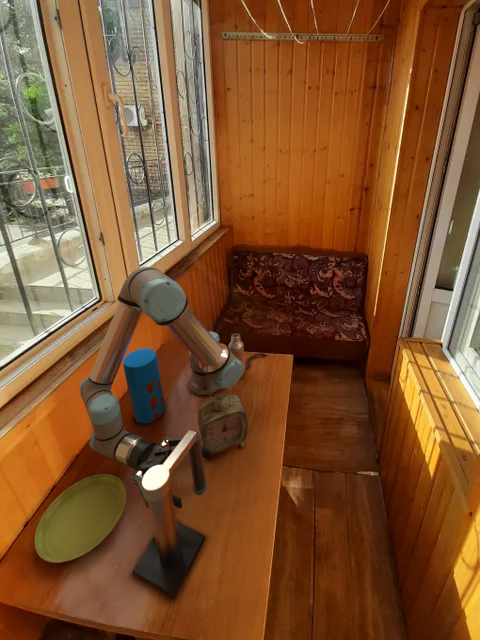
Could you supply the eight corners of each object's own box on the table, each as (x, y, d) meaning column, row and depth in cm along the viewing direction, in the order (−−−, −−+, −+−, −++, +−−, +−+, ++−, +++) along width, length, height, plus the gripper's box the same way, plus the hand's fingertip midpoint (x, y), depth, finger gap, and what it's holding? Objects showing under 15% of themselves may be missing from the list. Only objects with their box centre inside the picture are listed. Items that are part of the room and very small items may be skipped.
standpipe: (174, 599, 70) (160, 529, 61) (133, 574, 73) (114, 506, 65) (205, 539, 80) (197, 472, 72) (167, 520, 84) (155, 455, 76)
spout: (169, 559, 71) (156, 494, 64) (150, 549, 73) (135, 484, 66) (212, 485, 87) (206, 425, 80) (195, 478, 89) (188, 419, 81)
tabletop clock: (205, 466, 98) (198, 405, 90) (200, 442, 106) (193, 384, 97) (248, 448, 104) (246, 389, 96) (240, 427, 112) (237, 371, 103)
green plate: (78, 477, 95) (76, 470, 93) (142, 485, 92) (141, 478, 91) (15, 563, 75) (11, 555, 74) (94, 576, 73) (91, 568, 72)
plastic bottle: (242, 380, 134) (240, 341, 127) (228, 377, 135) (225, 339, 128) (247, 370, 140) (245, 332, 133) (233, 368, 141) (231, 330, 134)
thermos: (130, 410, 118) (118, 356, 110) (158, 396, 125) (149, 344, 116) (139, 429, 111) (128, 372, 102) (169, 413, 117) (160, 358, 109)
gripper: (167, 427, 104) (222, 449, 97) (102, 503, 82) (167, 537, 75) (164, 410, 102) (220, 431, 95) (96, 484, 80) (163, 517, 73)
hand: (197, 478), depth 85 cm, fingers open, 13 cm apart
